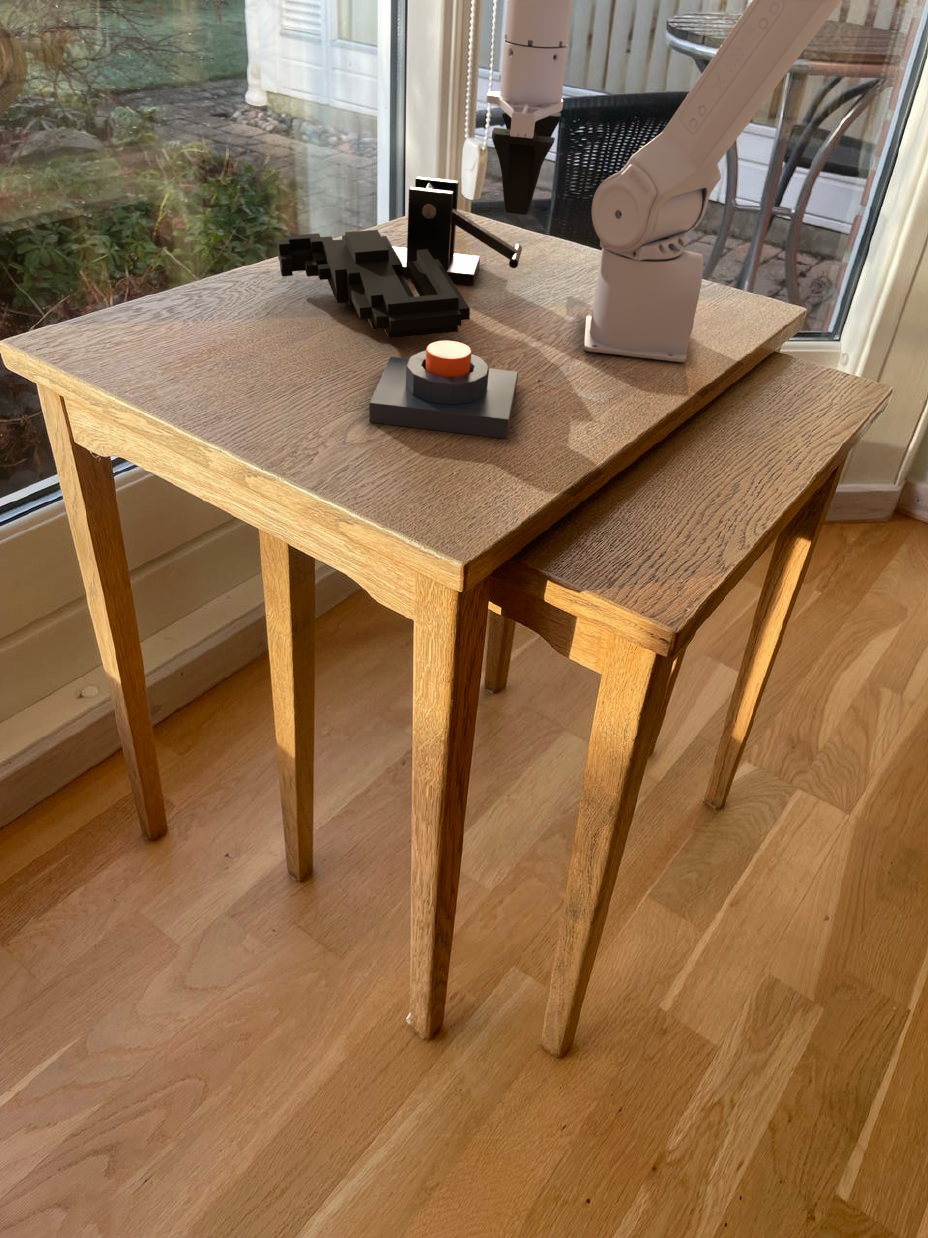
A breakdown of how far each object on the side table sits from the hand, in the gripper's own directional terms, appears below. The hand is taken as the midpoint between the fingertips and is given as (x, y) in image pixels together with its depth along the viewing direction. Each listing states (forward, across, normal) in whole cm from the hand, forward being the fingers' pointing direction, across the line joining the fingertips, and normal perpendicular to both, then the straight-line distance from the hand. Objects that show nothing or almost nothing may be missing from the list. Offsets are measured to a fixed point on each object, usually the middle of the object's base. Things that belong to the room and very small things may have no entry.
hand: (520, 201), depth 96 cm
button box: (+9, +27, -3) cm, 29 cm away
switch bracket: (+9, -4, -9) cm, 14 cm away
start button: (+6, +27, -3) cm, 28 cm away
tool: (+9, +9, -13) cm, 18 cm away
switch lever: (+5, -4, -6) cm, 9 cm away
